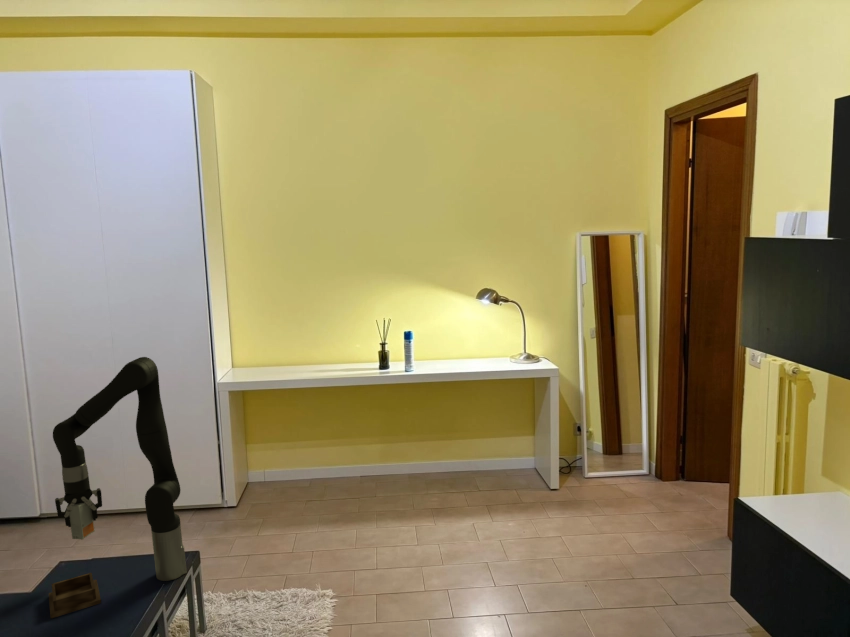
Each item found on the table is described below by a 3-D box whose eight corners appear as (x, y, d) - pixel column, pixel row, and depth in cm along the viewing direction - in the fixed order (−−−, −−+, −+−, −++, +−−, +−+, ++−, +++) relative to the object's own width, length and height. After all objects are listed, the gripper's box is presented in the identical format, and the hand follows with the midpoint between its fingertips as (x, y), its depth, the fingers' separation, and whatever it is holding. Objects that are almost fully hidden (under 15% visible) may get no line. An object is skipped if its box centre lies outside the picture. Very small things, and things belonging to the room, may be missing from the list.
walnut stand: (96, 582, 216) (95, 569, 215) (101, 603, 204) (99, 589, 203) (49, 596, 209) (47, 583, 208) (50, 618, 197) (48, 604, 196)
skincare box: (83, 540, 215) (78, 506, 213) (72, 539, 216) (67, 505, 214) (95, 531, 221) (91, 498, 219) (84, 530, 222) (80, 497, 220)
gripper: (98, 468, 222) (104, 513, 225) (50, 478, 215) (57, 525, 217) (100, 475, 216) (106, 521, 218) (51, 486, 208) (58, 533, 211)
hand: (82, 523), depth 218 cm, fingers closed on skincare box, 7 cm apart
